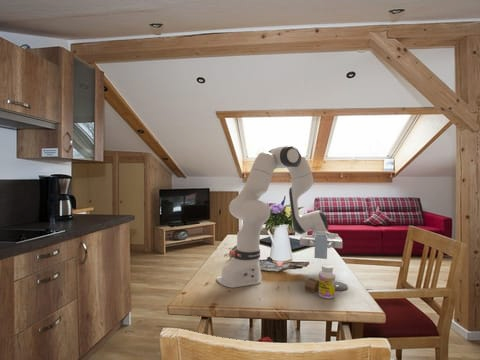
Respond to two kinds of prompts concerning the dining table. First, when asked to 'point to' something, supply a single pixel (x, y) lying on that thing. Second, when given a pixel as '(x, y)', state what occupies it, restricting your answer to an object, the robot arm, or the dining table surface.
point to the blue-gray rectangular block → (320, 246)
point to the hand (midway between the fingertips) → (321, 245)
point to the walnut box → (312, 285)
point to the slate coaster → (340, 286)
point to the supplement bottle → (327, 282)
